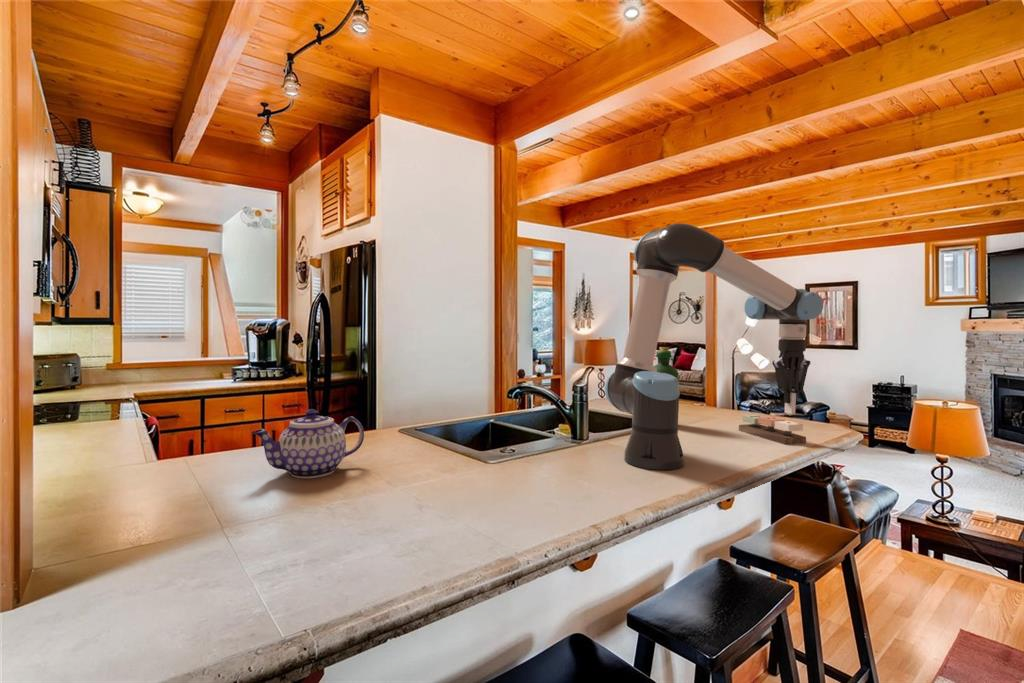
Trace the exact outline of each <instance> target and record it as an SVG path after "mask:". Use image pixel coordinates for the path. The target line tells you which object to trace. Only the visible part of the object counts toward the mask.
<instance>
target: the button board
mask: <svg viewBox="0 0 1024 683" xmlns="http://www.w3.org/2000/svg"><path fill="white" fill-rule="evenodd" d="M739 430H740V432H742V431H743V432H742V433H745V432H746V434H749V435H752V434H753V436H755V435H756V437H758V436H759V437H760V438H763V439H765V440H769V441H772V442H775V443H779V444H781V445H799V444H801V445H802V444H806V443H807V436H804V435H801V434H797V433H794V432H792V435H791V437H788V436H785V430H782V429H778V428H775V427H774V432H770V431H768V426H767V425H763V424H758V427H752V424H751V423H747V424H745V423H744V424H738V431H739Z"/></svg>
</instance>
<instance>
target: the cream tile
mask: <svg viewBox="0 0 1024 683" xmlns="http://www.w3.org/2000/svg"><path fill="white" fill-rule="evenodd" d="M774 428H775V429H779V430H783V431H785V436H788V437H791V435H792V433H793V432H802V431H804V429H803V428H804V423H800V422H796V421H791V420H785V421H775V426H774Z"/></svg>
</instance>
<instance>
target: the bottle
mask: <svg viewBox="0 0 1024 683" xmlns="http://www.w3.org/2000/svg"><path fill="white" fill-rule="evenodd" d="M655 357H656V358H657V364H655V365H653V366H654V368H655V369H656V371H657V372H660V373H666V374H670V375H672V376H674V377H676V378H677V380H678V381H679V374H680V373H679V371H678V370H677V368H676V367H674V366H673V365H671V364H670V361H671V358H672V351H670V350H669V346H668V347H667V346H660V347H659V350H656V354H655Z"/></svg>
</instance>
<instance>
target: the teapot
mask: <svg viewBox="0 0 1024 683" xmlns="http://www.w3.org/2000/svg"><path fill="white" fill-rule="evenodd" d="M317 414H318V410H316V409H314V408H309V409H307V410H306V411H305V415H306V416H303V417H298V418H297V417H296V418H294V419H291V420H289V425H288V427H286V429H284V430H283V431H282V433H281V434H280V435H279V439H278V440H277V441H275V440H274V439H273V437H272V436H271V435H270V433H269V432H268V431H267V430H266V429H264V428H261V429H257V430H254V431H253V435H256V436H258V437H260V439H261V442H262V444H263V445H262V446H263V449H264V454H265V459H266V460H267V463H268V465H270V467H272V468H275V469H277V470H283V471H287V472H288V473H289V474H290V475H291V476H292V477H294V478H298V479H315V478H321V477H325V476H328V475H331V474H332V473H334V472H335V470H336V469H337V467H338V466H339V465H340V463H341V462H342V461H343V459H344V458H346V457H348V456H351V455H352V454H354V453H356V452H357V451H358V450H359V449H360V448H361V446H362V444H363V443H364V439H365V431H364V427H363V425H362V423H361V422H360V421H359V420H358V418H355V417H354V416H348V417H346V418H345V419H344V420H343V421H342V422H341V423H339V424H337V423H336V422H335V419H334V418H332V417H329V416H323V415H317ZM350 422H353V423H355V425H356V426H357V429H358V431H359V438H358V441H356V442H357V443H355V445H354V446H353V447H352V448H350V449H346V448H347V440H346V434H345V430H346V428H347V425H348V424H349V423H350Z"/></svg>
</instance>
